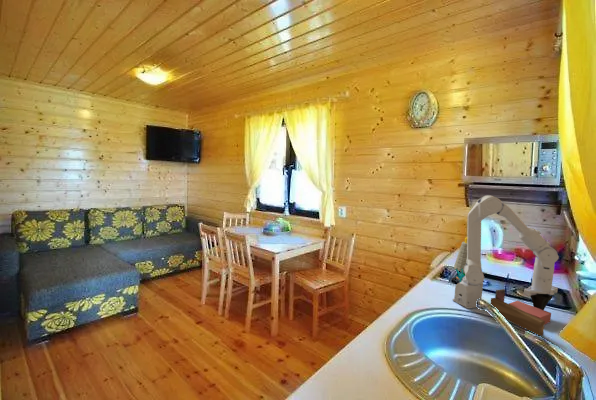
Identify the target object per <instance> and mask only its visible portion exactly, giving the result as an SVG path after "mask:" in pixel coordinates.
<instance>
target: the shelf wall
mask: <svg viewBox="0 0 596 400" xmlns="http://www.w3.org/2000/svg"><path fill="white" fill-rule="evenodd" d="M489 303H490V304H492V305H493V306H494V307H496V308H497V309H498V310H499V312H500V313H501V314H502V315H503V316H504V317H505V318H506V319H505V318H504V319H505V320H507V321H509V322H511V323H512V324H514V325H517V326H518V327H520V326H521V327H520V328H522V327H523V328H522V329H524V328H526V329H527V330H526V329H525V330H526V331H528V330H530V331H532V332H534V333H536V334H538V335H541V336H540V337H542V336H544V331H545V325H546V324H545V321H544V320H541V319H539V318H537V317H535V316H533V315H531V314H529V313H527V312H524V311H522V310H520V309H518V308H516V307H514V306H512V305H509V303H507V302H505V301H504V302H503V301H501V300H499V299H497V298H495V297H491V298H490V302H489ZM544 324H545V325H544ZM530 331H529V332H530ZM532 332H531V333H532Z"/></svg>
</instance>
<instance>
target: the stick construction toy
mask: <svg viewBox="0 0 596 400" xmlns="http://www.w3.org/2000/svg"><path fill="white" fill-rule="evenodd" d="M457 269H458V268H457ZM457 269H456V270H455V272H456V273H457V274H455V275H454V277H452V278H451V279H452V280H451V281H454V280H458V282H459V283H460V282H462V280H463V278H464V276H466V275H465V273H463V269H460V270H462V272H459V271H458V270H457Z"/></svg>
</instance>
